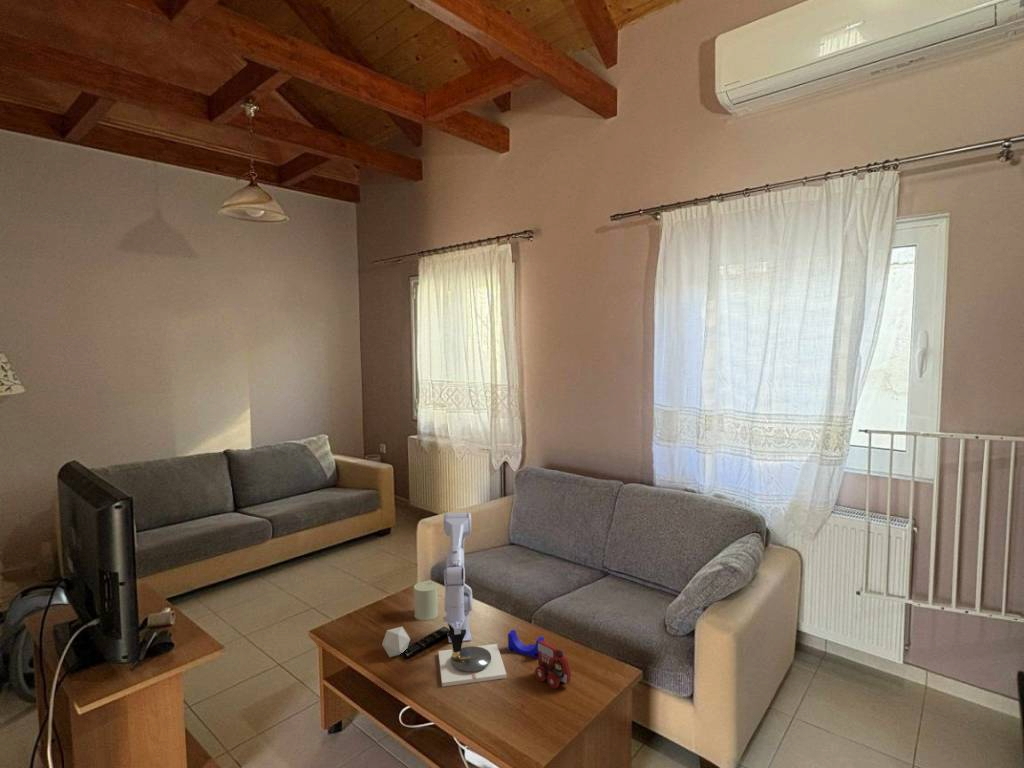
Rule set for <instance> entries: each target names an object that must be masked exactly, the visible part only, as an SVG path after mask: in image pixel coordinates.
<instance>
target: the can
mask: <svg viewBox="0 0 1024 768" xmlns="http://www.w3.org/2000/svg"><path fill="white" fill-rule="evenodd" d="M413 596H414V599H413V601H414V619H416V620H419V621H431V620H433V619H436V618H437V617H438V615H439V605H438V600H439V599H438V583H437V582H435V581H430V580H426V581H425V580H424V581H421V582H417V583H416V584H414V586H413Z"/></svg>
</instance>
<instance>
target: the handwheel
mask: <svg viewBox="0 0 1024 768" xmlns="http://www.w3.org/2000/svg"><path fill="white" fill-rule="evenodd" d="M490 662H491V654H490V652H489V651H488V650H486V649H484V648H481V647H475V646H474V645H473V646H465V647H461V651H460V652H454V651H453V648H452V656H451V664H452V666H453V667H454V668H456V669H458V670H461V671H467V672H472V671H478V670H481V669H483V668H485V667H487V666H488V665H489V664H490Z"/></svg>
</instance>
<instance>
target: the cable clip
mask: <svg viewBox="0 0 1024 768" xmlns="http://www.w3.org/2000/svg"><path fill="white" fill-rule="evenodd" d="M539 641H544V642H545V638H544V637H543V636H538V638H537V639H536V642H535V643H534V644H528V645H525V644H524V643H522V642H521V641H520V640H519V638H518V635H517V631H516V630H514V629H511V630H510V631H508V633H507V644H508V645H507V647H508V648H507V650H508V652H512V653H517V654H520V655H525V656H527V657H531V658H534V659H538V657H539V651H538V642H539Z"/></svg>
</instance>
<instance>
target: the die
mask: <svg viewBox="0 0 1024 768" xmlns="http://www.w3.org/2000/svg"><path fill="white" fill-rule="evenodd" d="M410 641H411V638H410V636H409V634H408V633H407V631H406V629H404V627H403V626H398V627H394V628H391V629H387V630H386V632H385V635H384V637H383V640H382V644H381V645H382V647H383V649H384V650H385V652H386V655H388V657H389V658H393V657H397V656H401V655H402V654H401V653H403V652H404V651H405V650H406V649H408V647H409V643H410ZM406 651H407V650H406ZM400 654H401V655H400Z"/></svg>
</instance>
